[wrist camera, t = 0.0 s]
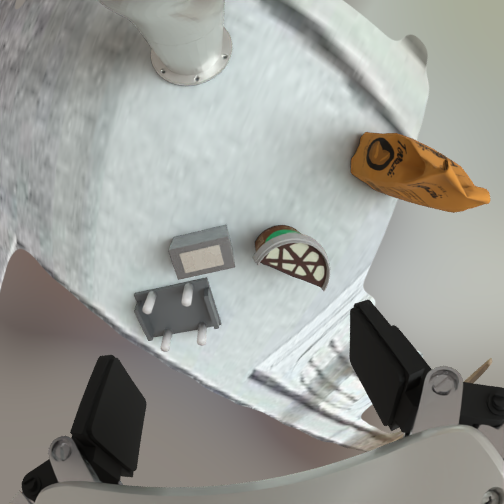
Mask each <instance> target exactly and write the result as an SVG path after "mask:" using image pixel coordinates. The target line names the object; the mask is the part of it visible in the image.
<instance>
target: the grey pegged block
mask: <svg viewBox="0 0 504 504" xmlns="http://www.w3.org/2000/svg"><path fill="white" fill-rule="evenodd" d="M134 296H135V298H136V300H137V305H136V307H135V310H134V312H135V314H136V316H137V318H138V321H139V323H140V325H141V327H142V329H143V331H144V333H145V335H146V337H147V339H148V341H151V340H153V337H158V336H163V339H162V344H161V350H162V351H164V352H167V351H169V348H170V343H171V337H172V334H175V333H181V332H187V331H192V330H197V329H198V336H197V343H198V344H199V345H201V346H203V345H205V344H206V332H207V327H212V326H214V329H218V328H219V325H221V320H220V317H219V314H218V311H217V308H216V305H215V302H214V298H213V295H212V292H211V289H210V285H209V282H208V279H207V278H202V279H198V280H193V281H189V282H184V283H180V284H175V285H170V286H166V287H161V288H156V289H152V290H147V291H142V292H138V293H135V295H134Z"/></svg>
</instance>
